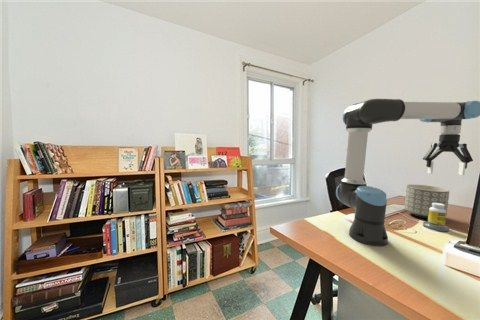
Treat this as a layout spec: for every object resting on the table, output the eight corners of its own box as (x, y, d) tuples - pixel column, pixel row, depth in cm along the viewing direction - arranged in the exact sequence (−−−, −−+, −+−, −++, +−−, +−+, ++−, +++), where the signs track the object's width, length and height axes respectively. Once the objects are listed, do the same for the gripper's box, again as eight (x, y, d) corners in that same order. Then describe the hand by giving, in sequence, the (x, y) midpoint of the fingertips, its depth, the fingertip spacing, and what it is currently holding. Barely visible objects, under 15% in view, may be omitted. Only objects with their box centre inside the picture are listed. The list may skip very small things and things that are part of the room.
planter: (440, 215, 125) (443, 187, 123) (451, 225, 109) (455, 193, 107) (401, 209, 135) (404, 183, 133) (406, 217, 119) (409, 188, 117)
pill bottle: (433, 227, 102) (435, 205, 101) (424, 222, 109) (426, 201, 108) (448, 228, 101) (450, 206, 100) (438, 223, 107) (440, 202, 106)
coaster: (430, 230, 101) (430, 227, 101) (418, 223, 111) (418, 220, 111) (454, 233, 99) (455, 230, 99) (440, 225, 108) (440, 222, 108)
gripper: (425, 133, 103) (421, 173, 105) (486, 133, 97) (481, 176, 98) (417, 134, 110) (413, 171, 112) (473, 134, 104) (468, 174, 106)
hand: (445, 174), depth 105 cm, fingers open, 13 cm apart
